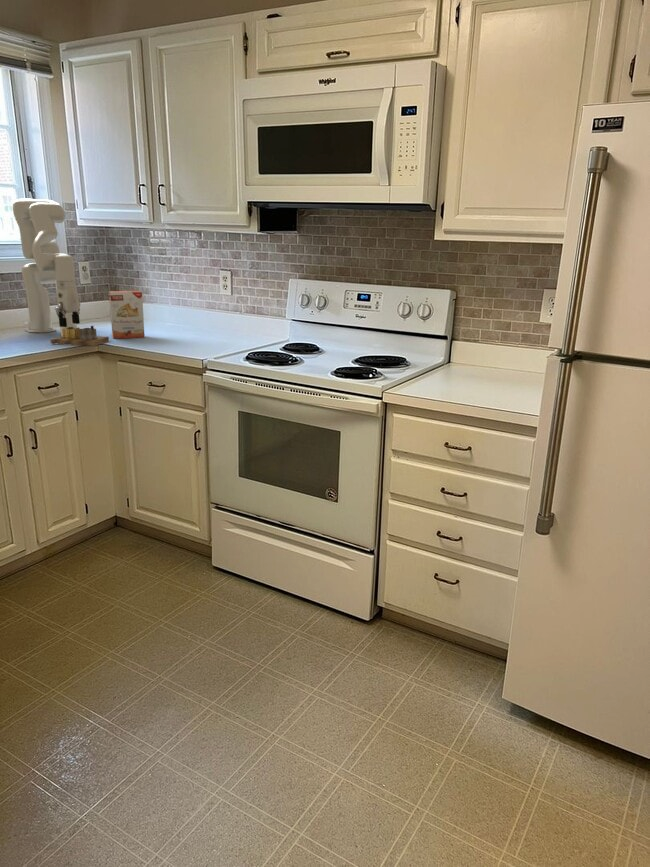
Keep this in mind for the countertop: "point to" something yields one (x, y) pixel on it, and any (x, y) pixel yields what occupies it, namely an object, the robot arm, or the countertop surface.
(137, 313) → the cracker box
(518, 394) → the countertop surface
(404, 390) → the countertop surface
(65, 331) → the brass gear
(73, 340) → the gear board
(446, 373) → the countertop surface
